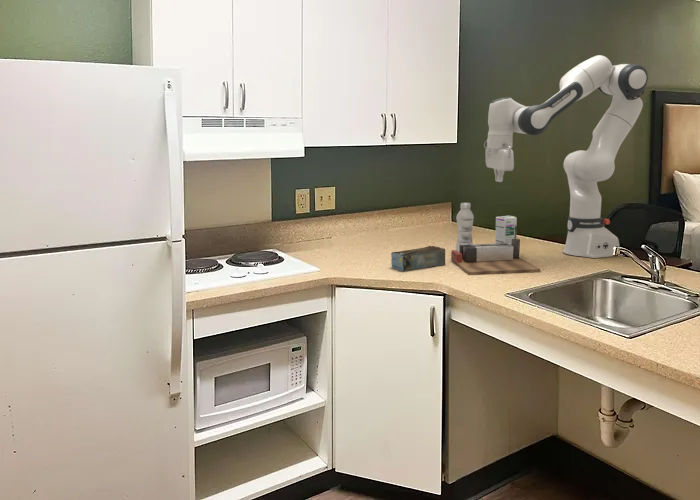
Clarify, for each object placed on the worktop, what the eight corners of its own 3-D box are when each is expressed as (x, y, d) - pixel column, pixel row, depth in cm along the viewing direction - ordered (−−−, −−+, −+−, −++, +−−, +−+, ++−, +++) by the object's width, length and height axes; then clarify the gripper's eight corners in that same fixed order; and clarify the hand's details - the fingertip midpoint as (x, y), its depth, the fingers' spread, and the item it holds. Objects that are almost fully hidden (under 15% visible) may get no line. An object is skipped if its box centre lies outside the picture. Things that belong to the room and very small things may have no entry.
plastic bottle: (473, 256, 239) (474, 204, 235) (455, 255, 240) (456, 204, 236) (473, 252, 245) (474, 202, 241) (455, 252, 246) (456, 201, 242)
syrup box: (504, 255, 240) (505, 218, 237) (494, 252, 245) (495, 216, 242) (516, 254, 242) (517, 216, 239) (506, 251, 247) (507, 214, 244)
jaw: (510, 258, 229) (510, 244, 228) (513, 260, 226) (513, 246, 225) (463, 260, 227) (463, 246, 226) (465, 262, 224) (466, 248, 223)
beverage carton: (390, 268, 223) (390, 250, 222) (433, 261, 232) (433, 244, 231) (402, 272, 216) (403, 254, 215) (446, 265, 226) (447, 247, 224)
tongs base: (516, 258, 235) (517, 237, 233) (539, 271, 213) (541, 248, 212) (451, 260, 232) (451, 239, 230) (468, 274, 211) (469, 251, 209)
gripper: (519, 144, 217) (517, 184, 220) (498, 142, 237) (498, 178, 240) (501, 144, 217) (500, 184, 219) (482, 142, 236) (482, 179, 239)
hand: (499, 181), depth 230 cm, fingers closed
